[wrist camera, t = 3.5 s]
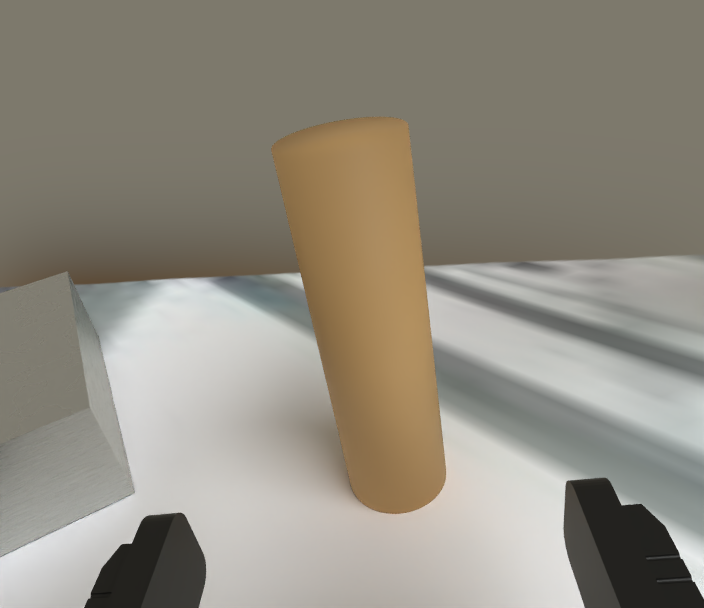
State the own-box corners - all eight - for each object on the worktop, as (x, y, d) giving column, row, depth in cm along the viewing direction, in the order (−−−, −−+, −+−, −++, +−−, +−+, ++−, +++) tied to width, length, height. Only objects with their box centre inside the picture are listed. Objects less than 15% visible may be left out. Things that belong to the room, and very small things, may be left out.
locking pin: (411, 425, 25) (365, 111, 18) (466, 481, 22) (436, 127, 15) (333, 465, 24) (252, 143, 17) (381, 531, 21) (304, 167, 14)
